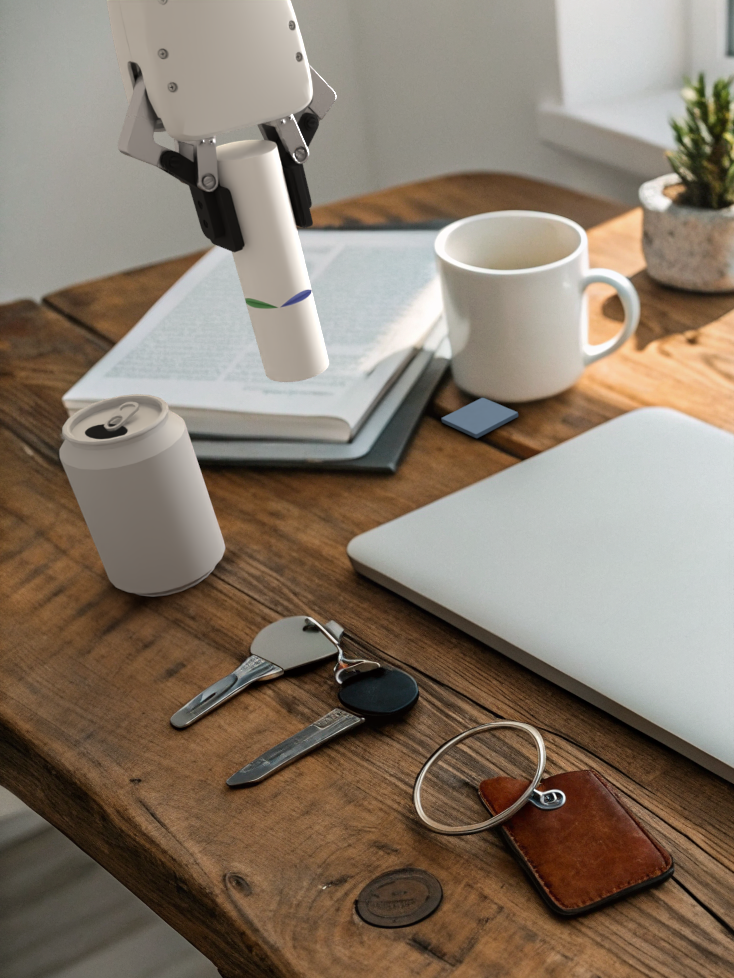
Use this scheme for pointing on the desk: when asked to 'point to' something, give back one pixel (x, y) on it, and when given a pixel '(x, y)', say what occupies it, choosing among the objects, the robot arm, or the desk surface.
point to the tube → (272, 262)
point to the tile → (479, 417)
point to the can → (142, 494)
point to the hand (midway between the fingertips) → (262, 231)
